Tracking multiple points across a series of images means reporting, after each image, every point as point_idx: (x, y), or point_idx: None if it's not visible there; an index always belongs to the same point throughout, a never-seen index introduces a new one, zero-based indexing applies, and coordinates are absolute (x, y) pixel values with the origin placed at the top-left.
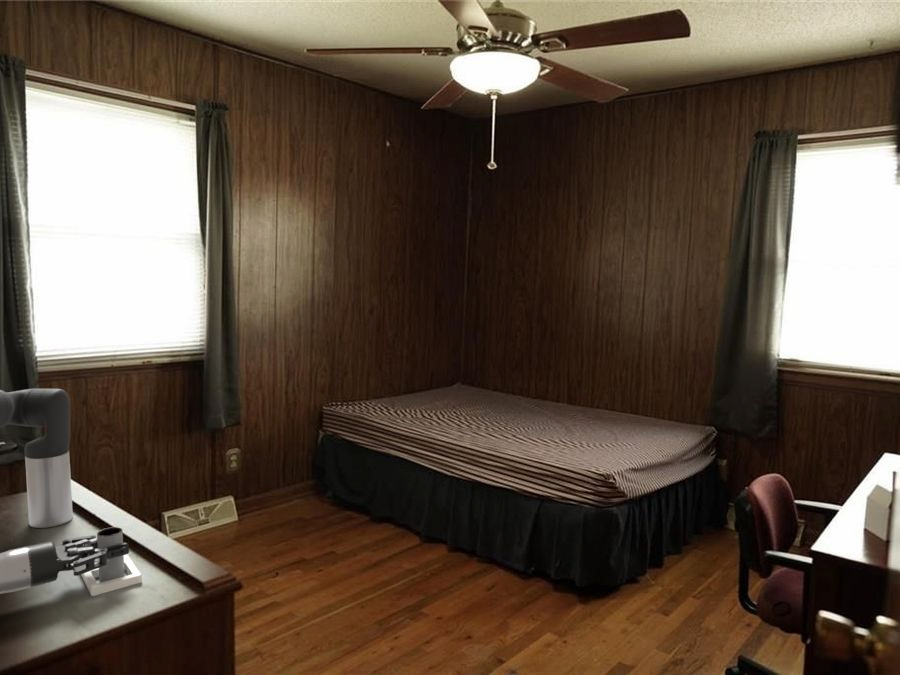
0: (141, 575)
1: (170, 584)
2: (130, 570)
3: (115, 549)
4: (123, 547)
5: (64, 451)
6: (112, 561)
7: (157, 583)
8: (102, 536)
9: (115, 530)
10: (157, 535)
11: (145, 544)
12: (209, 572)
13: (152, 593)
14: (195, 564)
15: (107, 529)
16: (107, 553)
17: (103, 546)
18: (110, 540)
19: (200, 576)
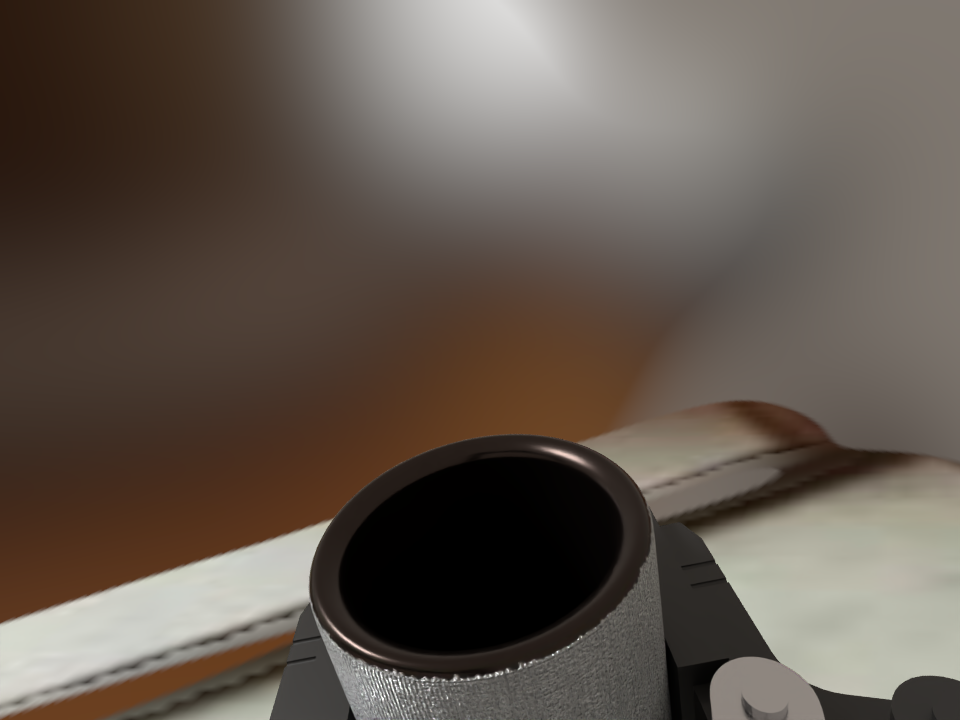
0: None
1: (778, 547)
2: None
3: (731, 602)
4: (693, 538)
5: None
6: None
7: (747, 602)
8: (621, 596)
9: (399, 511)
10: (106, 594)
11: (146, 648)
12: (680, 433)
13: (907, 629)
14: None
15: (340, 561)
16: (823, 699)
17: (653, 713)
18: (657, 565)
19: (712, 454)
